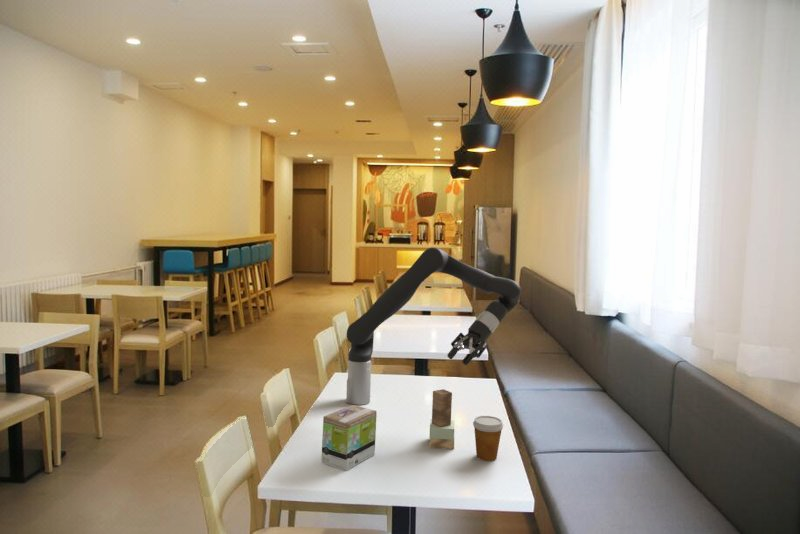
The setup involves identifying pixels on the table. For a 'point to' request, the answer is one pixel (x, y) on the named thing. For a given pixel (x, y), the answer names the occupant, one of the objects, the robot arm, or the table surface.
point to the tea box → (348, 436)
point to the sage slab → (442, 431)
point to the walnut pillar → (441, 408)
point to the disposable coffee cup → (487, 436)
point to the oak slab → (441, 443)
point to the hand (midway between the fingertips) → (456, 360)
